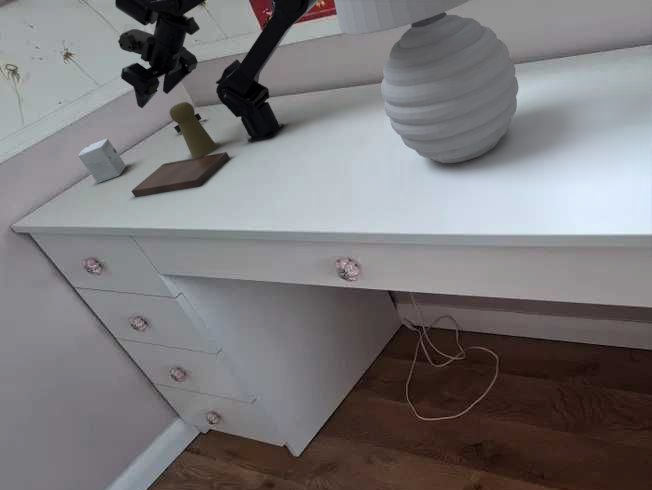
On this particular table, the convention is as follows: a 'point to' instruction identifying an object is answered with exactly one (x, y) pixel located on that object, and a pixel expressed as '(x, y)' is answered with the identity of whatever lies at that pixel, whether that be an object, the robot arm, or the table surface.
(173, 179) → the walnut board
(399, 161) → the table surface
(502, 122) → the table lamp
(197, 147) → the olive yellow pawn
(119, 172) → the white cardboard box
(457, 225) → the table surface
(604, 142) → the table surface
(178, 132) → the watch
